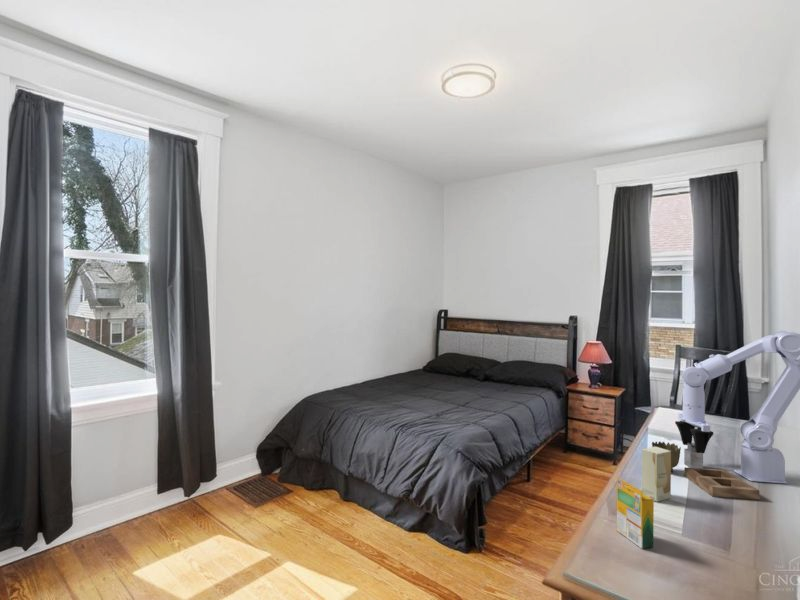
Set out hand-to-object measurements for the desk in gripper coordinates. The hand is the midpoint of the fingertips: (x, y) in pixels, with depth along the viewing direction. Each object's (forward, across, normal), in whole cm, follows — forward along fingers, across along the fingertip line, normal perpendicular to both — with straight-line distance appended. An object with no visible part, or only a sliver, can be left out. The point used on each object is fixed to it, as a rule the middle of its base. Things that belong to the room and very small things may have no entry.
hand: (693, 448), depth 131 cm
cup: (+6, +6, -11) cm, 14 cm away
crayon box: (+6, +49, -36) cm, 61 cm away
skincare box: (+6, +26, -22) cm, 35 cm away
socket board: (+6, +16, -1) cm, 17 cm away
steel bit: (+6, 0, 0) cm, 6 cm away
